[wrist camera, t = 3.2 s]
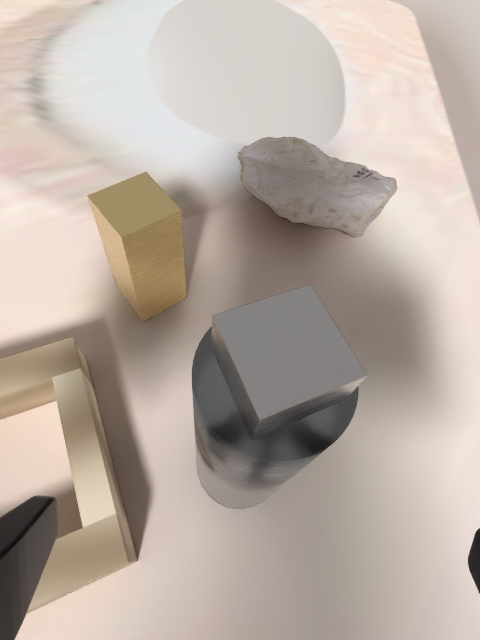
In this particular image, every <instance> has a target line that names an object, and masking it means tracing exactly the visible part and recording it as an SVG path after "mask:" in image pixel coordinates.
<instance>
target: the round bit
mask: <svg viewBox="0 0 480 640" xmlns="http://www.w3.org/2000/svg"><path fill="white" fill-rule="evenodd" d="M366 377H367V374H366V373H365V371H364V369H363V368H362V366H361V365H360V363H359V361H358V360H357V358H356V357H355V355H354V353H353V352H352V350H351V348H350V347H349V345H348V344H347V342H346V340H345V339H344V337H343V336H342V334H341V332H340V331H339V329H338V327H337V326H336V324H335V323H334V321H333V319H332V318H331V316H330V315H329V313H328V311H327V310H326V308H325V307H324V305H323V303H322V302H321V300H320V298H319V297H318V295H317V294H316V292H315V290H314V289H313V287H312V286H311V284H310V285H307V286H304V287H301V288H298V289H295V290H291V291H288V292H285V293H282V294H279V295H276V296H273V297H269V298H266V299H263V300H260V301H257V302H254V303H250V304H247V305H244V306H241V307H238V308H235V309H232V310H228V311H225V312H222V313H219V314H216V315H213V316H212V327H211V328H210V329H209V330H208V331H207V333H206V334H205V335H204V337H203V338H202V340H201V342H200V343H199V346H198V348H197V350H196V353H195V357H194V360H193V367H192V390H193V407H194V423H195V440H196V457H197V471H198V476H199V479H200V482H201V484H202V486H203V488H204V490H205V491H206V492H207V494H208V495H209V496H210V497H211V498H212V499H213V500H215V501H216V502H217V503H219V504H221V505H223V506H226V507H229V508H234V509H244V508H249V507H252V506H255V505H257V504H259V503H260V502H262V501H263V500H264V499H266V498H267V497H268V496H269V495H270V494H272V493H273V492H274V491H275V490H277V489H278V488H279V487H280V486H281V485H283V484H284V483H285V482H286V481H288V480H289V479H290V478H291V477H292V476H294V475H295V474H296V473H297V472H298V471H300V470H301V469H302V468H303V467H305V466H306V465H307V464H308V463H309V462H311V461H312V460H313V459H314V458H316V457H317V456H318V455H319V454H320V453H322V452H323V451H324V450H325V449H326V448H328V447H329V446H330V445H331V444H333V443H334V442H335V441H336V440H337V439H338V438H339V437H340V436H341V435H342V434H343V432H344V431H345V429H346V428H347V427H348V425H349V423H350V421H351V419H352V417H353V415H354V412H355V409H356V406H357V400H358V385H359V384H360V383H361V382H362V381H363V380H364V379H365V378H366Z"/></svg>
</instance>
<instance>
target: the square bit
mask: <svg viewBox="0 0 480 640" xmlns="http://www.w3.org/2000/svg"><path fill="white" fill-rule="evenodd" d="M88 200H89V203H90V206H91V209H92V212H93V215H94V218H95V221H96V224H97V227H98V231H99V234H100V237H101V240H102V243H103V246H104V249H105V252H106V255H107V258H108V261H109V265H110V268H111V271H112V274H113V277H114V280H115V283H116V286H117V288H118V289H119V291H120V292H121V293H122V295H123V296H124V297H125V299H126V300H127V301H128V303H129V304H130V305H131V307H132V308H133V309H134V311H135V312H136V313H137V315H138V316H139V317H140V319H141V320H142V321H143V322H145V321H146V320H148V319H150V318H152V317H153V316H155V315H157V314H159V313H160V312H162V311H164V310H166V309H167V308H169V307H171V306H173V305H174V304H176V303H178V302H180V301H181V300H183V299H185V298H187V293H186V276H185V259H184V243H183V226H182V210H181V209H180V208H179V206H178V205H177V204H176V203H175V202H174V201H173V200H172V199H171V198H170V197H169V196H168V195H167V194H166V193H165V192H164V191H163V189H162V188H161V187H160V186H159V185H158V184H157V183H156V182H155V181H154V180H153V179H152V178H151V177H150V176H149V175H148V173H147V172H144V173H142V174H140V175H137V176H135V177H132V178H130V179H127V180H125V181H122V182H120V183H117V184H115V185H112V186H110V187H107V188H105V189H103V190H100V191H98V192H95V193H93V194H90V195H88Z"/></svg>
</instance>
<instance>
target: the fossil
mask: <svg viewBox="0 0 480 640" xmlns="http://www.w3.org/2000/svg"><path fill="white" fill-rule="evenodd" d="M238 159H239V160H240V162H241V166H242V169H241V180H242V182H243V184H244V186H245V187H246V189H247V190H248V191H249V192H251V193H252V194H253V195H254V196H256V197H257V198H258V199H259V200H261V201H263V202H265V203H266V204H268V205H269V206H270V207H271V208H272V209H273V210H274V212H275V213H276V214H277V215H278V216H280V217H283V218H287V219H288V220H290V221H291V222H293V223H305V224H308V225H312V226H321V227H324V228H334V229H338V230H340V231H343V232H345V233H347V234H349V235H351V236H352V237H360V236H362V235H363V233H364V231H365V229H366V228H367V227H368V225H369V224H370V222H371V221H373V220H374V219H375V218H376V217H377V216H378V215H379V214H380V212H381V211H382V209H383V208H384V206H385V205H386V203H387V202H388V200H389V199H390V198H391V197H392V196H393V195H394V194H395V192H396V190H397V185H396V179H394V178H390V177H384V176H382V175H381V174H379V173H378V172H376V171H373V170H369V169H368V168H367V167H366V166H363V165H360V164H355V163H351V162H344V161H340V160H339V159H337V158H333V157H329V156H328V155H326V154H325V153H323V152H322V151H321V150H320V149H319V148H317V147H316V146H315V145H313V144H310V143H308V142H307V141H305V140H303V139H299V138H295V137H282V138H272V137H267V138H262V139H260V140H258V141H256V142H254V143H252V144H251V145H249V146H245V147H244V148H243V149H242V150H241V151H240V152H238Z"/></svg>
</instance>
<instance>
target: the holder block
mask: <svg viewBox="0 0 480 640" xmlns="http://www.w3.org/2000/svg"><path fill="white" fill-rule="evenodd" d="M56 400H57V404H58V409H59V414H60V419H61V424H62V429H63V434H64V439H65V443H66V448H67V453H68V458H69V463H70V468H71V473H72V478H73V483H74V487H75V492H76V497H77V502H78V507H79V512H80V517H81V522H82V526H83V528H81V529H79V530H76V531H74V532H72V533H69V534H67V535H65V536H62V537H60V538H58V539H56V540H55V543H54V545H53V548H52V550H51V553H50V555H49V558H48V560H47V563H46V566H45V568H44V571H43V573H42V576H41V578H40V581H39V583H38V586H37V588H36V591H35V593H34V596H33V598H32V601H31V603H30V606H29V608H28V611H27V613H29V612H31V611H33V610H35V609H37V608H39V607H41V606H43V605H46V604H48V603H50V602H52V601H54V600H56V599H58V598H60V597H62V596H65V595H67V594H69V593H71V592H73V591H75V590H77V589H79V588H82V587H84V586H86V585H88V584H90V583H92V582H94V581H96V580H98V579H101V578H103V577H105V576H107V575H109V574H111V573H113V572H115V571H117V570H120V569H122V568H124V567H126V566H128V565H130V564H132V563H134V562H136V561H138V560H137V556H136V552H135V548H134V545H133V541H132V537H131V533H130V529H129V525H128V521H127V517H126V513H125V509H124V505H123V501H122V498H121V494H120V490H119V486H118V482H117V478H116V474H115V470H114V466H113V462H112V458H111V455H110V451H109V447H108V443H107V439H106V435H105V431H104V427H103V423H102V419H101V415H100V411H99V408H98V404H97V400H96V396H95V392H94V388H93V384H92V380H91V376H90V372H89V368H88V365H87V361H86V358H85V356H84V355H83V353H82V351H81V350H80V348H79V346H78V345H77V343H76V341H75V340H74V338H73V337H70V338H67V339H64V340H60V341H57V342H54V343H51V344H47V345H44V346H41V347H37V348H34V349H31V350H27V351H24V352H21V353H17V354H14V355H11V356H7V357H4V358H1V359H0V419H3V418H6V417H9V416H12V415H15V414H18V413H21V412H24V411H27V410H30V409H33V408H36V407H38V406H41V405H44V404H47V403H50V402H53V401H56ZM27 613H26V614H27Z"/></svg>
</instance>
